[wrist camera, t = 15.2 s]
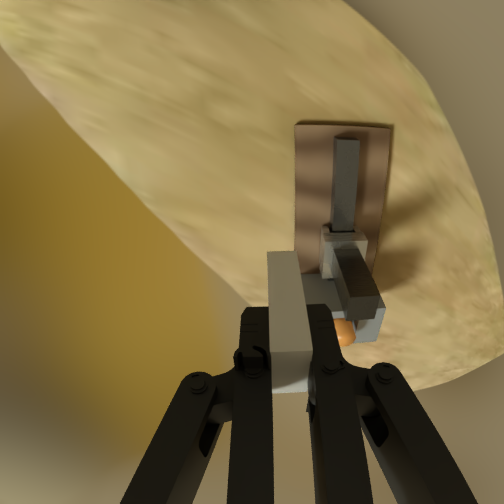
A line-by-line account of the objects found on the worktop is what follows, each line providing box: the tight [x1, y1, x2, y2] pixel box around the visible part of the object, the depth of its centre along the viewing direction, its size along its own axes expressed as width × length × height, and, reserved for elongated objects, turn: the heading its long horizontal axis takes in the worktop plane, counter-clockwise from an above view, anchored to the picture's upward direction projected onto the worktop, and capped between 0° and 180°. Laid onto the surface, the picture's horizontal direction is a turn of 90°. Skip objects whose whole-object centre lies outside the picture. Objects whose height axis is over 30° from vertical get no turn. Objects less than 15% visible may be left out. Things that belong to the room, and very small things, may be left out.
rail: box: [327, 137, 360, 281], centre depth 42 cm, size 22×3×2 cm, turn 3°
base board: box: [294, 124, 390, 276], centre depth 45 cm, size 31×13×1 cm, turn 3°
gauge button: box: [333, 318, 356, 346], centre depth 45 cm, size 3×3×8 cm
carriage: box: [319, 226, 381, 321], centre depth 40 cm, size 6×6×14 cm
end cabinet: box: [301, 274, 386, 343], centre depth 47 cm, size 7×12×9 cm, turn 93°
